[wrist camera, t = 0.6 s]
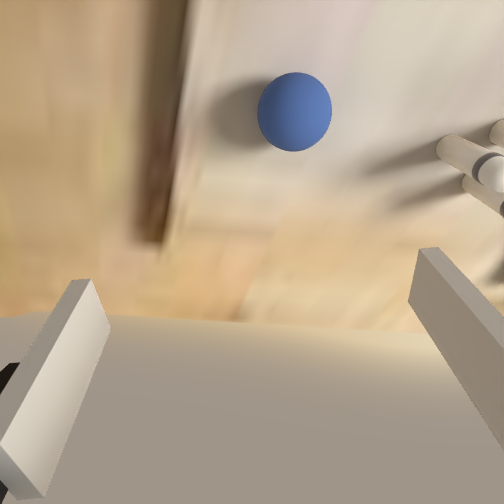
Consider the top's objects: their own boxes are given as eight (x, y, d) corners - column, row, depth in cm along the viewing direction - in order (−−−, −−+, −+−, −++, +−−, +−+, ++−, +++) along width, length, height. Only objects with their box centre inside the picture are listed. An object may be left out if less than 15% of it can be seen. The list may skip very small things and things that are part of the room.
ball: (243, 95, 31) (244, 107, 26) (304, 54, 29) (318, 58, 24) (276, 153, 34) (284, 174, 29) (334, 118, 32) (352, 134, 27)
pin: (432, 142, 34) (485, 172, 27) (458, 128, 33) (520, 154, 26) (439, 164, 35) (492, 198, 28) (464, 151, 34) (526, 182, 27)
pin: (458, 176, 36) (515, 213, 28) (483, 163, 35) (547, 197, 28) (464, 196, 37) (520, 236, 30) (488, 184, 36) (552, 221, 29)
